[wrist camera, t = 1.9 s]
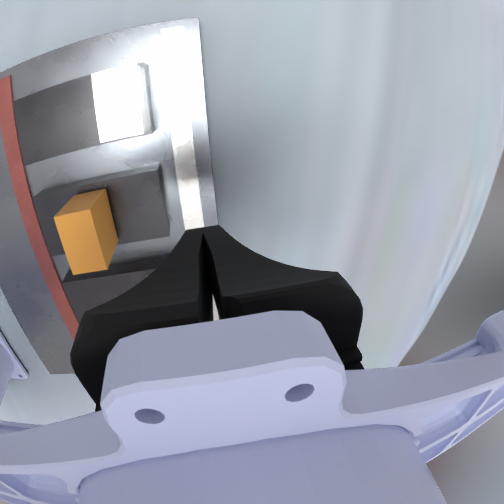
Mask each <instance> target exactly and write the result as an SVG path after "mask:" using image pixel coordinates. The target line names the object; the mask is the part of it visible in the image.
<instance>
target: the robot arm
mask: <svg viewBox="0 0 504 504" xmlns="http://www.w3.org/2000/svg"><path fill="white" fill-rule="evenodd" d="M213 297H214V300H215V304H216V307H217V311H218V314H219V318H220V320H216V321H214V319H213ZM362 316H363V307H362V304H361V301H360V299H359V297H358V296H357V295H356V293H355V292H354V291H353V289H352V288H351V286H350V285H349V284H348V283H347V281H346V280H345V279H344V278H343V277H342V276H341V275H340V274H339V273H338V272H331V271H319V270H310V269H304V268H299V267H294V266H290V265H286V264H283V263H280V262H277V261H274V260H271V259H269V258H266V257H264V256H262V255H260V254H257V253H255V252H254V251H252V250H250V249H248V248H247V247H245V246H244V245H242V244H241V243H239V242H238V241H237V240H235V239H234V238H233V237H232V236H230V235H229V234H228V233H227V232H226V231H225V230H224V229H223V228H222V227H221V226H219V225H214V226H207V227H201V228H194V229H187V230H186V231H185V232H184V234H183V235H182V237H181V238H180V240H179V241H178V243H177V244H176V246H175V247H174V249H173V250H172V251H171V253H170V254H169V255H168V256H167V258H166V259H165V260H164V261H163V262H162V263H161V264H160V265H159V266H158V267H157V268H156V269H155V270H154V271H153V272H152V273H151V274H150V275H149V276H147V277H146V278H145V279H143V280H142V281H141V282H139V283H138V284H137V285H135V286H134V287H133V288H131V289H130V290H128V291H126V292H125V293H123V294H121V295H119V296H118V297H116V298H114V299H112V300H110V301H108V302H106V303H103V304H101V305H99V306H97V307H94V308H92V309H90V310H87V311H84V314H83V316H82V318H81V321H80V323H79V326H78V329H77V333H76V336H75V339H74V343H73V346H72V349H71V353H70V360H71V366H72V368H73V370H74V372H75V374H76V376H77V377H78V379H79V380H80V382H81V383H82V385H83V386H84V388H85V389H86V391H87V392H88V393H89V395H90V396H91V398H92V399H93V401H94V402H95V403H96V409H95V412H93V413H90V414H86V415H83V416H79V417H76V418H72V419H68V420H64V421H60V422H56V423H52V424H48V425H34V424H24V423H15V422H8V421H1V420H0V499H1V500H3V501H6V502H8V503H11V504H447V503H446V501H445V499H444V497H443V495H442V493H441V492H440V490H439V488H438V486H437V484H436V482H435V480H434V478H433V476H432V474H431V473H430V471H429V469H428V467H427V465H426V463H427V462H428V461H430V460H432V459H433V458H435V457H437V456H438V455H440V454H441V453H443V452H444V451H446V450H447V449H448V448H450V447H452V446H453V445H455V444H456V443H458V442H459V441H460V440H462V439H463V438H465V437H466V436H468V435H469V434H470V433H471V432H473V431H474V430H476V429H477V428H478V427H480V426H481V425H482V424H483V423H485V422H486V421H488V420H489V419H490V418H492V417H493V416H494V415H495V414H497V413H498V412H499V411H501V410H502V409H503V408H504V310H502V311H500V312H498V313H496V314H494V315H492V316H491V317H488V318H487V319H486V320H485V321H484V322H483V323H482V324H481V326H480V327H479V330H478V332H477V334H476V338H475V339H473V340H471V341H469V342H467V343H465V344H463V345H461V346H459V347H457V348H454V349H452V350H450V351H448V352H446V353H443V354H441V355H439V356H437V357H434V358H432V359H430V360H428V361H425V362H423V363H420V364H418V365H411V366H401V367H390V368H377V369H364V367H363V366H362V364H361V362H360V361H362V354H361V352H360V351H359V349H358V347H357V342H358V337H359V333H360V328H361V323H362ZM28 377H29V375H28V373H27V372H26V370H25V369H24V367H23V366H22V364H21V363H20V362H19V360H18V359H17V357H16V356H15V354H14V353H13V351H12V350H11V348H10V346H9V345H8V343H7V342H6V340H5V338H4V337H3V335H2V334H1V332H0V405H1V402H2V399H3V396H4V393H5V390H6V388H7V385H8V382H9V379H28Z"/></svg>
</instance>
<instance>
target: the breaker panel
mask: <svg viewBox="0 0 504 504" xmlns="http://www.w3.org/2000/svg"><path fill="white" fill-rule="evenodd" d="M101 189H106V192H107V196H108V201H109V205H110V209H111V213H112V217H113V221H114V225H115V229H116V233H117V237H118V240H119V241H118V243H117V246H116V248H115V251H114V254H113V256H112V259H111V262H110V264H109V267H108V270H101V271H95V272H89V273H82V274H76V275H73V273H72V270H71V268H70V265H69V262H68V260H67V257H66V254H65V251H64V248H63V245H62V242H61V239H60V236H59V233H58V230H57V227H56V223H55V220H54V216H55V215H56V214H57V213H58V212H59V211H60V210H61V209H62V208H63V206H64V205H65V204H66V203H67V202H68V201H69V200H70V199H71V198H72V197H73V196H74V195H78V194H82V193H87V192H91V191H96V190H101ZM214 225H218V218H217V209H216V201H215V192H214V183H213V174H212V165H211V155H210V146H209V136H208V126H207V115H206V105H205V94H204V82H203V70H202V58H201V45H200V31H199V18H190V19H182V20H174V21H167V22H161V23H155V24H149V25H144V26H139V27H134V28H129V29H125V30H120V31H116V32H112V33H108V34H104V35H100V36H97V37H93V38H90V39H86V40H83V41H80V42H76V43H73V44H70V45H67V46H64V47H61V48H58V49H56V50H53V51H50V52H47V53H45V54H42V55H40V56H37V57H35V58H32V59H30V60H27V61H25V62H23V63H21V64H18V65H16V66H14V67H12V68H9V69H7V70H5V71H3V72H1V73H0V287H1V289H2V291H3V293H4V295H5V297H6V299H7V301H8V303H9V305H10V307H11V309H12V311H13V313H14V315H15V317H16V318H17V320H18V322H19V324H20V326H21V327H22V329H23V331H24V333H25V334H26V336H27V338H28V339H29V341H30V343H31V344H32V346H33V348H34V349H35V351H36V352H37V354H38V356H39V357H40V359H41V360H42V362H43V363H44V365H45V366H46V368H47V369H48V371H49V372H50V374H69V373H75V372H74V370H73V368H72V366H71V360H70V353H71V349H72V346H73V343H74V339H75V336H76V333H77V329H78V326H79V323H80V321H81V318H82V316H83V314H84V311H87V310H90V309H92V308H94V307H97V306H99V305H101V304H103V303H106V302H108V301H110V300H112V299H114V298H116V297H118V296H119V295H121V294H123V293H125V292H126V291H128V290H130V289H131V288H133V287H134V286H135V285H137V284H138V283H139V282H141V281H142V280H143V279H145V278H146V277H147V276H149V275H150V274H151V273H152V272H153V271H154V270H155V269H156V268H157V267H158V266H159V265H160V264H161V263H162V262H163V261H164V260H165V259H166V258H167V256H168V255H169V254H170V253H171V251H172V250H173V249H174V247H175V246H176V244H177V243H178V241H179V240H180V238H181V237H182V235H183V234H184V232H185V231H186V230H187V229H194V228H201V227H207V226H214ZM213 319H214V321H216V320H220V318H219V314H218V311H217V307H216V304H215V300H214V297H213Z"/></svg>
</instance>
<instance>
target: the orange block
mask: <svg viewBox="0 0 504 504" xmlns="http://www.w3.org/2000/svg"><path fill="white" fill-rule="evenodd" d="M54 220H55V223H56V227H57V230H58V233H59V236H60V239H61V242H62V245H63V248H64V251H65V254H66V257H67V260H68V262H69V265H70V268H71V270H72V273H73V275H76V274H82V273H89V272H95V271H101V270H108V267H109V264H110V262H111V259H112V256H113V254H114V251H115V248H116V246H117V243H118V241H119V240H118V237H117V233H116V229H115V225H114V221H113V217H112V213H111V209H110V205H109V201H108V196H107V192H106V189H101V190H96V191H91V192H87V193H82V194H78V195H74V196H73V197H72V198H71V199H70V200H69V201H68V202H67V203H66V204H65V205H64V206H63V208H62V209H61V210H60V211H59V212H58V213H57V214H56V215H55V216H54Z"/></svg>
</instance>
